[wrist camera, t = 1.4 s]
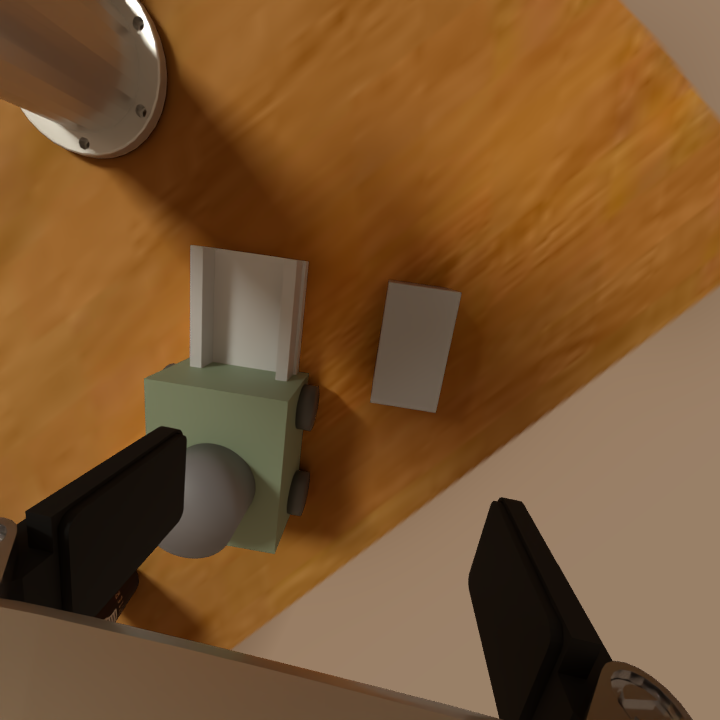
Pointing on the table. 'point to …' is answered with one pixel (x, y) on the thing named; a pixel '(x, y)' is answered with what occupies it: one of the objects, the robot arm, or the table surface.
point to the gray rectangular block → (414, 345)
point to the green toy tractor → (238, 402)
